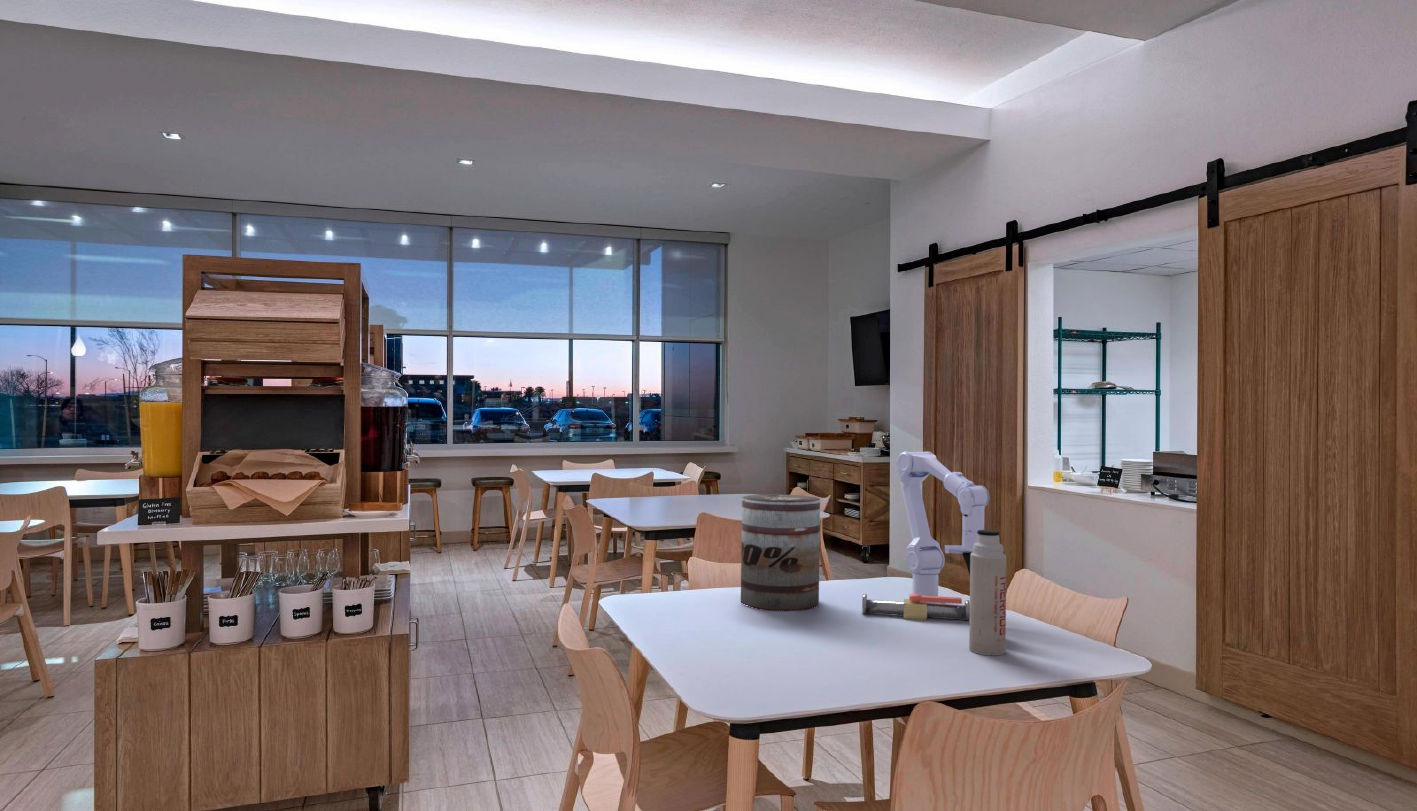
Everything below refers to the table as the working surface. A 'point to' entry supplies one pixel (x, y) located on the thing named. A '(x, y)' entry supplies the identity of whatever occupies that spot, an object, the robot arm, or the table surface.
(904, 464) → the robot arm
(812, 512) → the barrel
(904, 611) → the pipe and valve
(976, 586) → the thermos bottle
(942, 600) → the lever
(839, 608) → the table surface
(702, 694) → the table surface
